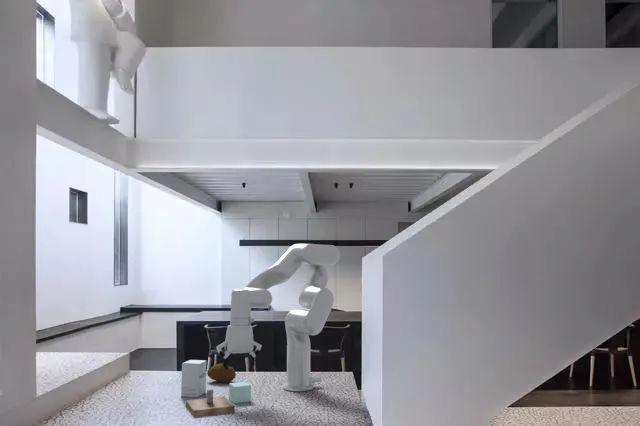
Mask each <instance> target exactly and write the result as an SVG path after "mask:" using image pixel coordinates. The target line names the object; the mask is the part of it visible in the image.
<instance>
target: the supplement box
mask: <svg viewBox="0 0 640 426" xmlns="http://www.w3.org/2000/svg"><path fill="white" fill-rule="evenodd" d="M180 386H181V387H180V388H181V389H180V390H181V391H180V396H181V397H186V398H187V397H190V398H200V397H201V396H202V395H204V394H207V389H206V388H207V360H204V359H203V360H202V359H201V360H200V359H189V360H186V361H185V362H182V363H181V385H180Z"/></svg>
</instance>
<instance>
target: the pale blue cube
mask: <svg viewBox="0 0 640 426" xmlns="http://www.w3.org/2000/svg"><path fill="white" fill-rule="evenodd" d="M228 383H229V386H228V394H229V395H228V400H229V401H230V402H231V403H232V404H239V403H247V402H251V398H252V397H251V396H252V395H251V394H252V393H251V392H252V390H251V389H252V387H251V384H250V383H248V382H247V381H240V382H239V381H238V382H228Z"/></svg>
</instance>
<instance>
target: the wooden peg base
mask: <svg viewBox="0 0 640 426" xmlns="http://www.w3.org/2000/svg"><path fill="white" fill-rule="evenodd" d="M235 406H236V405H234V403H233V402H232V401H231V400H230V399H229V398H227V397H225V396H214V389H211V388H210V389H209V388H208V389H206V397H204V398H196V399H194V398H193V399H188V400H187V399H186V400H185V407H186V409H187V411H188V412H189V413H190V414H191V416H193V417H194V418H195V417H203V416H210V415H211V416H212V415H218V414H219V415H220V414H227V413H235V411H236V410H235V409H236V408H235Z"/></svg>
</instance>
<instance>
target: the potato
mask: <svg viewBox="0 0 640 426" xmlns="http://www.w3.org/2000/svg"><path fill="white" fill-rule="evenodd" d="M236 374H237V373H236V370H235V369H234V368H233V366H229V365H228V369H227V370H225V369H224V367H223V362H222V363H217V364H214V365H212V366H211V367H210V368H209V369H207V371H206V376H207V377H208V378H210V379H211V380H213V381H215V382H218V383H223V384H225V383H231V382H233V381H234V379H235V378H236V377H237V375H236Z"/></svg>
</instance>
